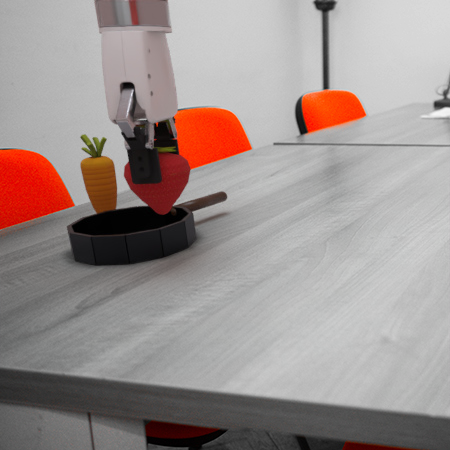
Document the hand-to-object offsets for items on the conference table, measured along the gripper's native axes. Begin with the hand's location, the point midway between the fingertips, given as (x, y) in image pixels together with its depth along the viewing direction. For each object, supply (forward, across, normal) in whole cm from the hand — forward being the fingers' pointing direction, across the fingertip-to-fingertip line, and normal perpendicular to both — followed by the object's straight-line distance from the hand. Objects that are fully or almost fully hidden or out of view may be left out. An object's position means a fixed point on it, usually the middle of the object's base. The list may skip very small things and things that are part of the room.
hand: (158, 175), depth 69 cm
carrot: (+13, -24, -18) cm, 33 cm away
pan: (+12, -17, -6) cm, 22 cm away
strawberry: (+5, 0, 0) cm, 5 cm away
